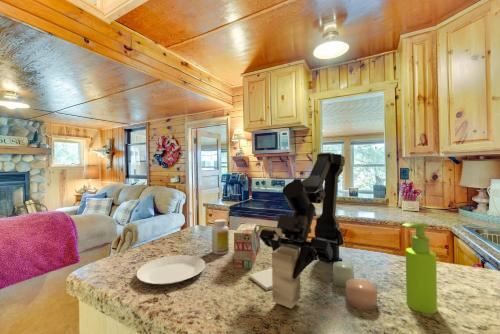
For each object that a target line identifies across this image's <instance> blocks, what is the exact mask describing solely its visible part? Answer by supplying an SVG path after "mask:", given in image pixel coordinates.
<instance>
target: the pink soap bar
mask: <svg viewBox="0 0 500 334" xmlns="http://www.w3.org/2000/svg"><path fill="white" fill-rule="evenodd" d="M345 299H346V302H347V303H348V304H349V305H350V306H353V307H354V308H357V309H359V310H365V311H371V310H375V309H377V307H378V288H377V286H376V285H375V284H374V283H372V282H370V281H367V280H364V279H360V278H354V279H350V280H348V281H347V282H346V287H345Z"/></svg>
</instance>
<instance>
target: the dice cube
mask: <svg viewBox="0 0 500 334" xmlns="http://www.w3.org/2000/svg"><path fill="white" fill-rule="evenodd" d="M283 247H288V248H292V249H297V250H300V248H298V247H294V246H289V245H284V244H283Z"/></svg>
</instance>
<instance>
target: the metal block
mask: <svg viewBox="0 0 500 334" xmlns="http://www.w3.org/2000/svg"><path fill="white" fill-rule="evenodd" d="M299 254H300V249H299V250H297V249H292V248H288V247H283V246H281V247H280V248H278V249H276V250H275V251H273V250H272V251H271V266H272V267H271V268H272V302H273V303H276V304H278V305H281V306H284V307H286V308H289V309H292V308H294V307H295V305H296V304H297V303H298V302H299V301H300V299H301V273H300V274H299V275H298V277H297V278H296V279H294V278H293V272H294V269H295V266H296V263H297V260H298V257H299Z"/></svg>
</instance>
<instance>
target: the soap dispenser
mask: <svg viewBox="0 0 500 334" xmlns="http://www.w3.org/2000/svg"><path fill="white" fill-rule="evenodd" d="M401 226H403V227H404V228H407V229H411V228H415V234H413V235H411V247H407V248H405V283H406V284H405V285H406V289H405V290H406V291H405V293H406V295H405V296H406V304H407V305H408V307H410V308H411V309H412V310H414V311H416V312H419V313H422V314H429V315H430V314H431V315H432V314H433V315H434V314H436V313H437V312H438V289H437V285H438V282H437V279H438V278H437V275H438V274H437V254H436V252H434V251H431V250H430V238H429V237H428V236H426V235H425V232H426V231H425V228H429V224H428V223H424V222H418V221H417V222H416V221H415V222H414V221H412V222H405V223H403V224H401Z"/></svg>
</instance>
